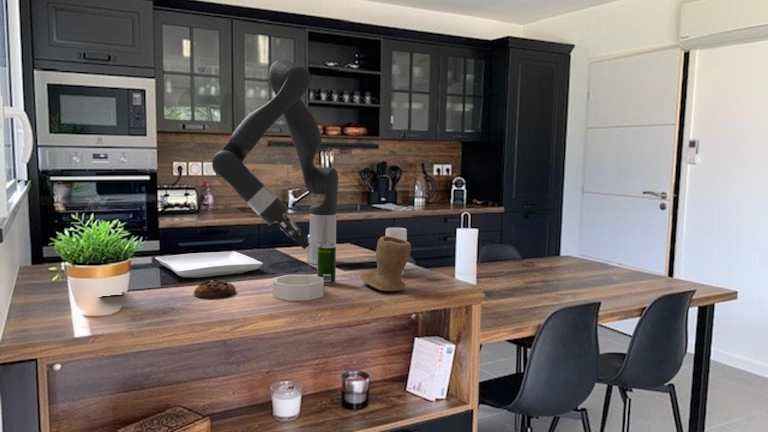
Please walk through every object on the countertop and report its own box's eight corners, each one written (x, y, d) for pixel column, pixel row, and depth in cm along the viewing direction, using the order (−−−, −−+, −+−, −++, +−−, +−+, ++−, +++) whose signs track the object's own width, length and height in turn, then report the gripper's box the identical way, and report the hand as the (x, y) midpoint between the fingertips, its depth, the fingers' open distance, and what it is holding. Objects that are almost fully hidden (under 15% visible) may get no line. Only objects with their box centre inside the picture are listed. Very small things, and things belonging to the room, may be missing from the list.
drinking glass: (406, 273, 187) (407, 227, 185) (405, 277, 180) (406, 230, 179) (385, 272, 188) (386, 227, 186) (383, 276, 181) (384, 229, 179)
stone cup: (416, 292, 162) (418, 239, 160) (377, 295, 157) (379, 241, 156) (394, 281, 176) (395, 232, 174) (358, 283, 171) (358, 233, 169)
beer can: (337, 284, 169) (338, 244, 168) (319, 285, 167) (320, 245, 166) (332, 280, 174) (333, 241, 173) (315, 281, 172) (315, 242, 171)
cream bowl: (262, 294, 155) (262, 280, 155) (297, 286, 166) (297, 272, 166) (298, 303, 147) (298, 287, 147) (333, 293, 158) (333, 279, 158)
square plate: (264, 273, 183) (264, 261, 183) (176, 283, 168) (176, 270, 168) (234, 260, 206) (234, 249, 205) (154, 267, 190) (154, 255, 190)
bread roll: (216, 301, 148) (214, 281, 148) (184, 301, 153) (183, 282, 153) (245, 293, 158) (243, 275, 158) (214, 294, 163) (213, 276, 163)
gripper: (275, 198, 158) (317, 239, 162) (277, 194, 172) (315, 232, 176) (256, 217, 158) (298, 257, 161) (259, 211, 172) (297, 249, 175)
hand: (306, 244), depth 168 cm, fingers open, 8 cm apart
